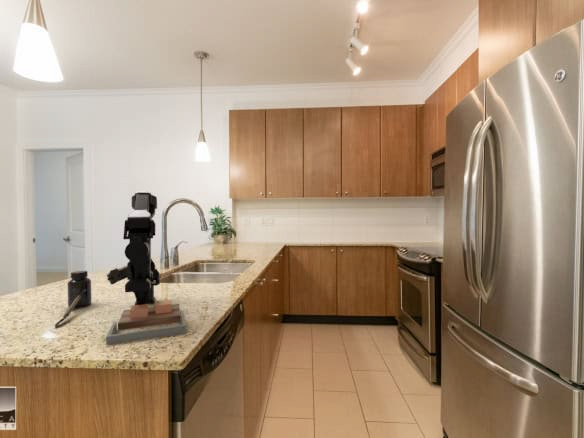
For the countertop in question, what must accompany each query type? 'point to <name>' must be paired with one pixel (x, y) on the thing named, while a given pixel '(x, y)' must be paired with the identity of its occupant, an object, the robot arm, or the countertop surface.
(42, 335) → the countertop surface
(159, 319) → the walnut board
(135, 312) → the tile
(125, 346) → the countertop surface
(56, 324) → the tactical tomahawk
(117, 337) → the tray
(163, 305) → the block
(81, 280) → the supplement bottle
